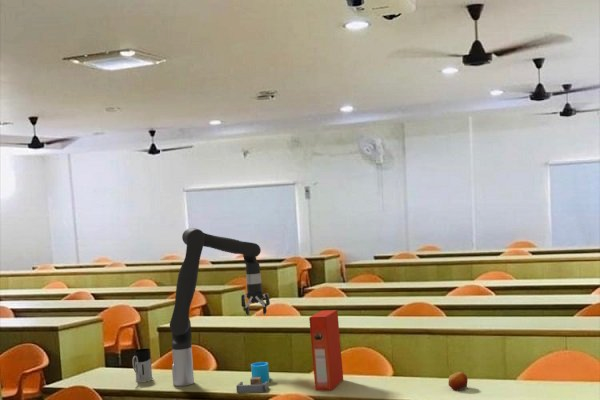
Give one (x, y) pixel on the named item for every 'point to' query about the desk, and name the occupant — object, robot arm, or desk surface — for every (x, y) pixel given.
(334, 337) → the file binder
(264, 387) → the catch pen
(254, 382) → the tile
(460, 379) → the fruit
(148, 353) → the grey handled cylinder
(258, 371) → the mug
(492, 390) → the desk surface
